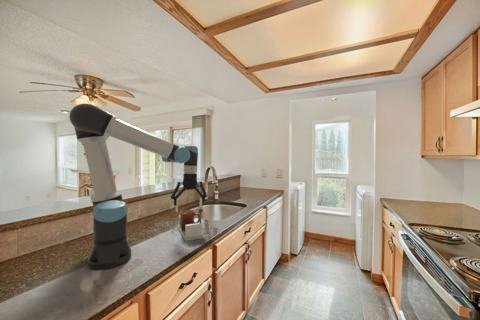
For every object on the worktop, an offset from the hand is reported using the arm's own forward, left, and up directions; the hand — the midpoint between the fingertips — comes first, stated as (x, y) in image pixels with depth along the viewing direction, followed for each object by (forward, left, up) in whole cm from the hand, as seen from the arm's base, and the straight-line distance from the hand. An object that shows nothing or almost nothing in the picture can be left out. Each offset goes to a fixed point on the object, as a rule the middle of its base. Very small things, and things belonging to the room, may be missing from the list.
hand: (188, 210), depth 115 cm
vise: (0, 0, -13) cm, 13 cm away
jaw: (0, +12, -11) cm, 16 cm away
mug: (+1, 0, -11) cm, 11 cm away
